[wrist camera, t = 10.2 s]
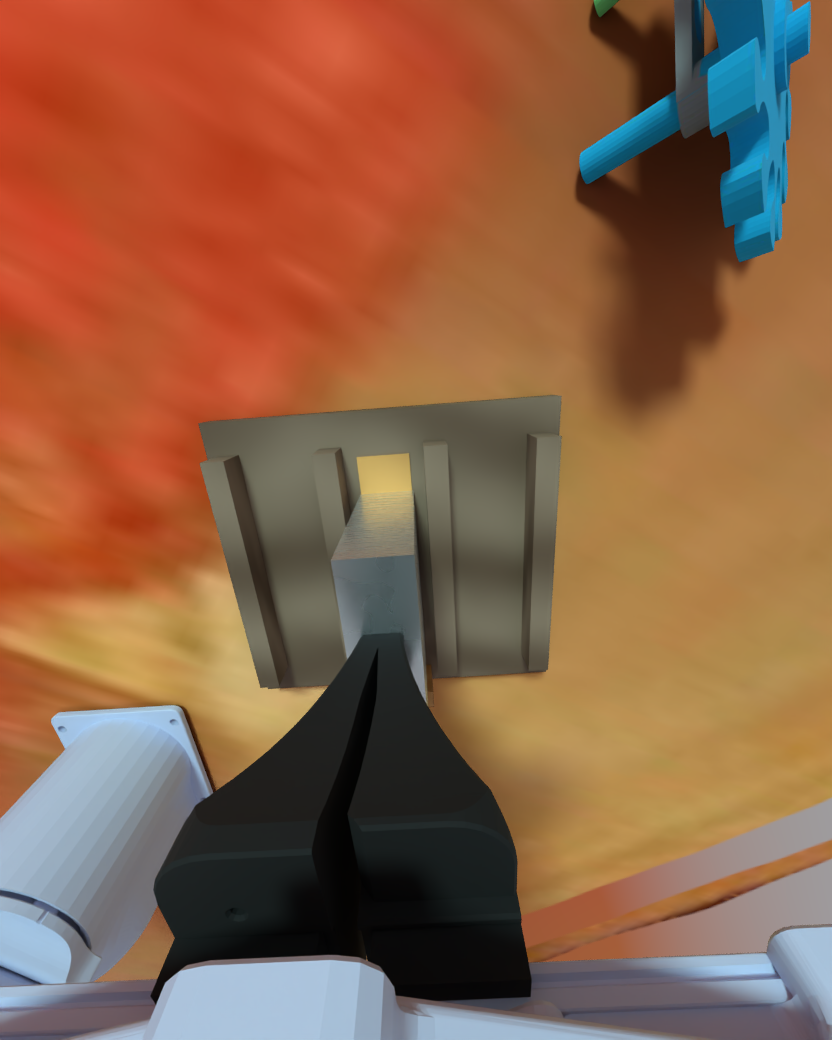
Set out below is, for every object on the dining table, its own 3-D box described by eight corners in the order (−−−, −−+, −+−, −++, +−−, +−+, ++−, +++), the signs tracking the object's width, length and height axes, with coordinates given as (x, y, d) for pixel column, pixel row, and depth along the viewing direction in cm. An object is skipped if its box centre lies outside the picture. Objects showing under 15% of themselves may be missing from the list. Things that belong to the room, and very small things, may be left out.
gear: (807, 267, 14) (788, 184, 8) (634, 320, 19) (530, 294, 12) (824, -116, 12) (819, -679, 6) (623, 45, 16) (487, -168, 10)
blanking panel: (424, 632, 21) (430, 750, 14) (378, 635, 21) (362, 754, 14) (413, 490, 18) (414, 554, 11) (360, 494, 18) (330, 560, 11)
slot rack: (540, 659, 23) (558, 699, 20) (274, 676, 23) (254, 717, 20) (553, 395, 18) (580, 398, 15) (209, 421, 18) (171, 429, 15)
